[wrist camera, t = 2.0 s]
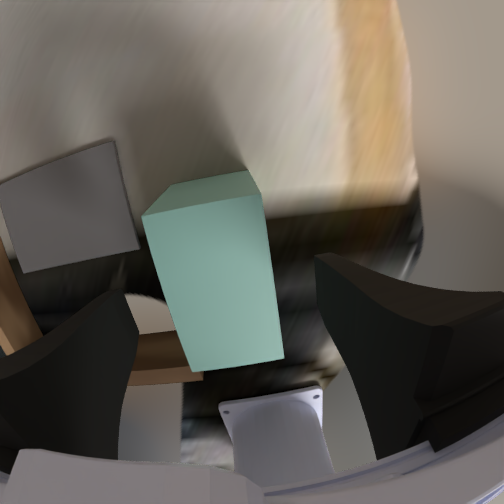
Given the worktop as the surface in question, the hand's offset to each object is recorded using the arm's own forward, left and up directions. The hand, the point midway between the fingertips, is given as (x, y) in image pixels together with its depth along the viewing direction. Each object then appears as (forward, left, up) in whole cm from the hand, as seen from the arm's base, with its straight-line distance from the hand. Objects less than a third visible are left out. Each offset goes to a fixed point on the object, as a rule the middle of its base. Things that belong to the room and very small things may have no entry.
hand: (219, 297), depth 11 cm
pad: (+3, +9, -6) cm, 11 cm away
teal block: (0, 0, -6) cm, 6 cm away
